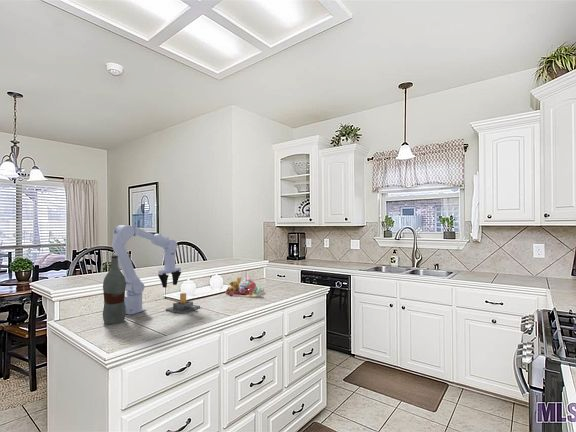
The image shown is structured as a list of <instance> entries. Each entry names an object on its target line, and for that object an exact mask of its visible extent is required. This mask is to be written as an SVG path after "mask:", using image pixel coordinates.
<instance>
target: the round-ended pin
mask: <svg viewBox="0 0 576 432" xmlns="http://www.w3.org/2000/svg"><path fill="white" fill-rule="evenodd" d="M179 301H180V304H186V301H187V293H185V292H184V293H183V292H182V293H179Z"/></svg>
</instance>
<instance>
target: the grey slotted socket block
mask: <svg viewBox="0 0 576 432" xmlns="http://www.w3.org/2000/svg"><path fill="white" fill-rule="evenodd" d="M172 305H173V306H171V307H167V308H165V312H170V313H177V314H184V315H185V314H188V313H191V312H192V311H195V310H198V309H200V308H201V305H195V304H194V301H190V300H186V304H180V300H179V301H177V302H174V303H172Z"/></svg>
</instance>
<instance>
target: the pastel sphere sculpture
mask: <svg viewBox="0 0 576 432" xmlns="http://www.w3.org/2000/svg"><path fill="white" fill-rule="evenodd" d="M228 284H229V286H228V287H227V288H226V290H225V294H226V295H228V296H232V297H240V298H256V297H259V296H263V295H264V294H266V291H265V288H263V289H262V288H261V287H260V286H259V285H257V284H256V283H255V282H254V281H253V279H252V278H251V277H250V278H245V279H243V280H242V278H241V277H240V276H239V277H237V278H236V280H233V281H230V282H229V283H228Z"/></svg>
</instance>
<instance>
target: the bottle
mask: <svg viewBox="0 0 576 432" xmlns="http://www.w3.org/2000/svg"><path fill="white" fill-rule="evenodd" d="M110 257H111V260H110V262H111V266H110V269H109V270H108V272H107V273H106V274H105V277H104V278H103V282H102V284H103V285H102V291H103V303H104V305H103V308H102V320H103V321H102V322H103V323H104V324H105V325H109V326H110V325H118V324H121V323H124V321H125V318H126V315H127V314H126V309H125V302H124V298H125V296H126V289H125V287H126V281H125V276H124V274H123V272H122V270H120V269H121V268H119V262H118V256H116V255H110Z"/></svg>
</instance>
